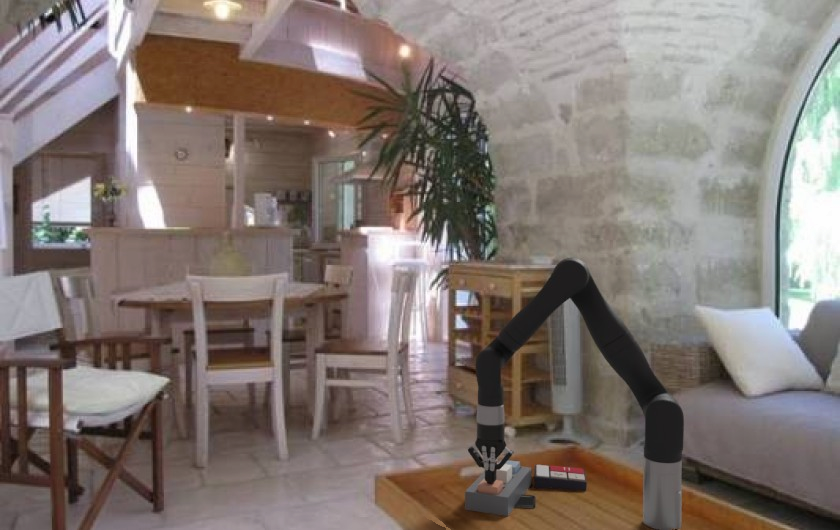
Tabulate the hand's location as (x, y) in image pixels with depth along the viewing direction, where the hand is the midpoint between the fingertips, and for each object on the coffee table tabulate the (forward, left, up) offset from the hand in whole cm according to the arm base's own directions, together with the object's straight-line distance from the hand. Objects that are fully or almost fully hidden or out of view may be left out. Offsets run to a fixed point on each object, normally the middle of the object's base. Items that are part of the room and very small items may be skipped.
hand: (490, 483), depth 194 cm
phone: (-3, -6, -7) cm, 10 cm away
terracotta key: (0, 0, -4) cm, 4 cm away
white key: (0, -9, -2) cm, 9 cm away
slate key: (0, -18, -4) cm, 18 cm away
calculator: (-14, -26, -7) cm, 31 cm away
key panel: (0, -9, -7) cm, 11 cm away
